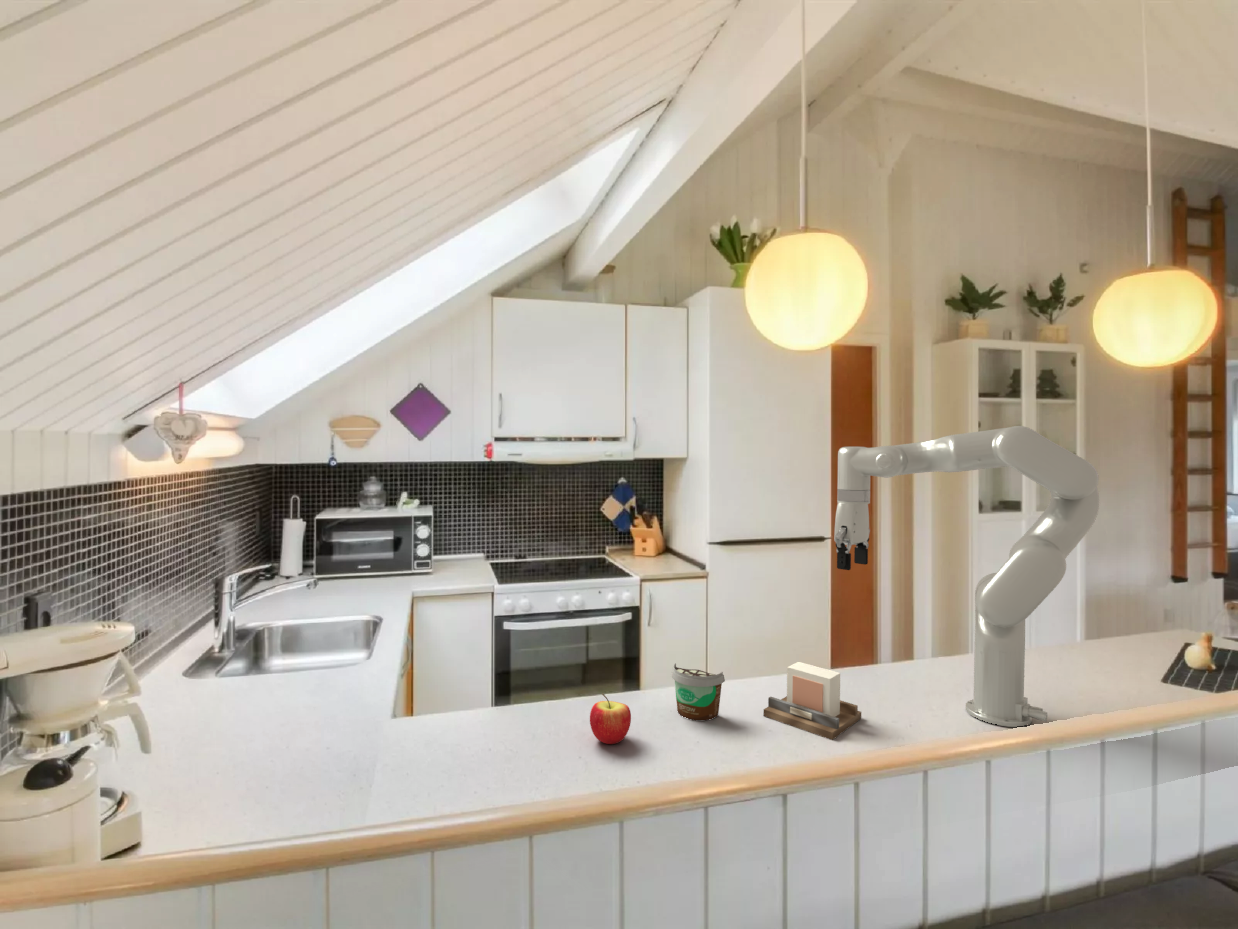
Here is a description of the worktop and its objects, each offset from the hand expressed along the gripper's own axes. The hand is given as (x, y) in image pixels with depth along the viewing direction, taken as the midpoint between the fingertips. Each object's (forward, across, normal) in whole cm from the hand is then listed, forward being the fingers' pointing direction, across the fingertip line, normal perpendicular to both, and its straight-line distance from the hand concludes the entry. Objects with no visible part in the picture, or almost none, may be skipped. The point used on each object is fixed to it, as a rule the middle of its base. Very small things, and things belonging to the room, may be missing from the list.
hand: (852, 566), depth 153 cm
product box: (+29, +22, +1) cm, 36 cm away
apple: (+31, +61, -23) cm, 72 cm away
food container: (+31, +40, -18) cm, 53 cm away
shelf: (+30, +22, +1) cm, 37 cm away
